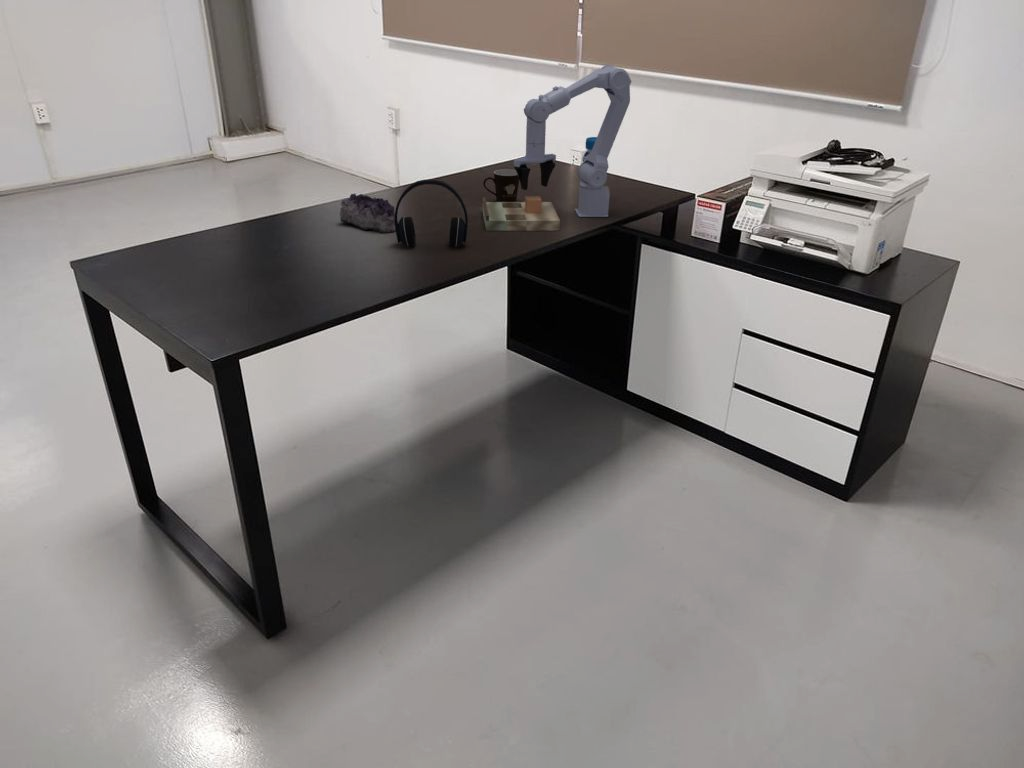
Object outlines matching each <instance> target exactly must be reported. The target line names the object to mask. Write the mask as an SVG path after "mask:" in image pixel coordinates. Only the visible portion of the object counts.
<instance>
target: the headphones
mask: <svg viewBox="0 0 1024 768" xmlns="http://www.w3.org/2000/svg"><path fill="white" fill-rule="evenodd" d="M423 185H433V186H434V185H436V186H440V187H443V188H445V189H447V190H448V191H449V192H450V193H452V194H453V195H454V196H455V197H456V198H457V199H458V201H459V203H460V205H461V207H462V209H463V210H462V211H463V212H464V213H463V214H464V219H465V220H463V218H462V217H458V216H457V217H455V216H454V217H453V216H452V217H451V218H450V227H449V228H450V229H449V237H448V245H449V246H451V247H456V248H457V247H458V248H460V247H461V245H462V244H463V243H467V235H468V223H469V219H468V218H469V217H468V212H467V208H466V205H465V203H464V200H463V199H462V198H461V195H460V194H459V192H458V191H457V190H456V189H454V187H453V186H451V185H450V184H449V183H447V182H445V181H443V180H439V179H429V178H428V179H421V180H416V181H415V182H413V183H411V184H410V185H409V186H408V187H406V189H404V191H402V193H401V195H400V196H399V198H398V200H397V203H396V206H395V209H394V213H395V230H396V232H395V236H396V241H397V243H401V244H402V245H403V246H404V247H413V246H415V245H416V243H417V236H416V232H415V231H416V230H415V225H414V220H413V217H412V216H405V217H404V216H403V217H400V219H399V220H398V213H399V212H398V211H399V208H400V207H399V206H400V204H401V202H402V200H403V198H405V196H406V195H407V194H409V192H410V191H411V190H414V188H415V189H416V187H419V186H423Z"/></svg>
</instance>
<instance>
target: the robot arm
mask: <svg viewBox="0 0 1024 768" xmlns="http://www.w3.org/2000/svg"><path fill="white" fill-rule="evenodd" d="M629 75H630V74H629V73H628V72H627V70H625V69H624V68H622V67H621V68H619V67H615V66H613V65H610V64H606V65H603V66H602V67H599V68H596V69H595V70H593V71H592V72H590V73H589V74H587V75H585V76H583V77H582V78H580V79H579V80H577V81H575V82H574V83H572V84H571V85H569V86H567V87H564V86H557V85H555V86H553V87H552V90H550V91H549V92H546V93H545V94H543V95H542V94H539V95H538V99H537V98H531V99H529V100H528V101H527V102H526V104H525V107H524V108H523V113H524V115H525V117H526V125H525V126H526V127H525V128H526V129H525V130H526V131H525V132H526V136H525V137H526V138H525V155H524V156H521V157H518V158H514V159H513V167H514V170H516V172H517V174H518V177H519V185H520V187H521V190H523V191H528V186H529V175H530V172H531V168H529V167H528V166H531V165H536V164H537V165H538V164H539V167H540V185H541V186H542V187H544V188H545V187H548V184H549V180H550V177H551V174H552V173H553V171H554V169H555V168H556V163H555V162H556V160H557V155H556V154H554V153H547V154H546V129H547V125H546V124H547V120H548V118H549V116H551V115H552V114H554V113H555V112H557V111H559V110H562V109H563V108H565V107H567V106H569V105H570V103H571V99H573V98H575V97H578V96H580V95H582V94H584V93H586V92H588V91H591V90H593V89H594V88H597V89H603V90H604V91H605V92H606V94H607V96H608V99H609V101H610V103H609V106H608V109H607V111H606V113H605V117H604V118H603V120H602V124H601V126H600V128H599V131H598V133H597V136H596V137H597V139H596V141H595V144H594V146H593V149H592V151H591V153H589V154H588V155H587V156H586V157H585V160H584V161H582V162H581V163H580V165H579V166H578V168H577V173H576V174H577V176H578V179H579V180H580V183H579V191H578V206H577V207H578V208H574V211H575V213H576V214H577V216H578V217H579V218H608V217H609V207H610V196H611V195H610V188H609V186H608V185H606V182H607V179H608V176H607V175H608V170H609V168H610V167H609V162H608V160H609V159H608V158H609V156H610V153H611V150H612V148H613V145H614V143H615V141H616V138H617V136H618V133H619V130H620V128H621V125H622V124H623V120H624V118H625V115H626V113H627V111H628V108H629V106H630V103H631V89H630V88H631V87H630V86H631V83H632V80H631V78H630V76H629ZM604 184H605V186H603V185H604Z"/></svg>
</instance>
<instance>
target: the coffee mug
mask: <svg viewBox="0 0 1024 768" xmlns="http://www.w3.org/2000/svg"><path fill="white" fill-rule="evenodd" d="M493 177H494V178H493ZM493 177H491V176H490V177H486V178H484V179H483V181H482V182H483V183H482V184H483V187H484V188H485V189H486V191H488V192H489V193H491V194H492V195H494V196H495V197H496V198H495V199H496V202H517V198H518V192H519V191H518V190H519V185H520V180H519V177H518V174H517V172H516V170H515V169H507V168H506V169H505V168H504V169H496V170H494V171H493ZM488 180H492V181H493V183H494V188H495V191H494V192H493V191H492V190H490V189H489V188H488V187H487V186H486V182H487V181H488Z"/></svg>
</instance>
